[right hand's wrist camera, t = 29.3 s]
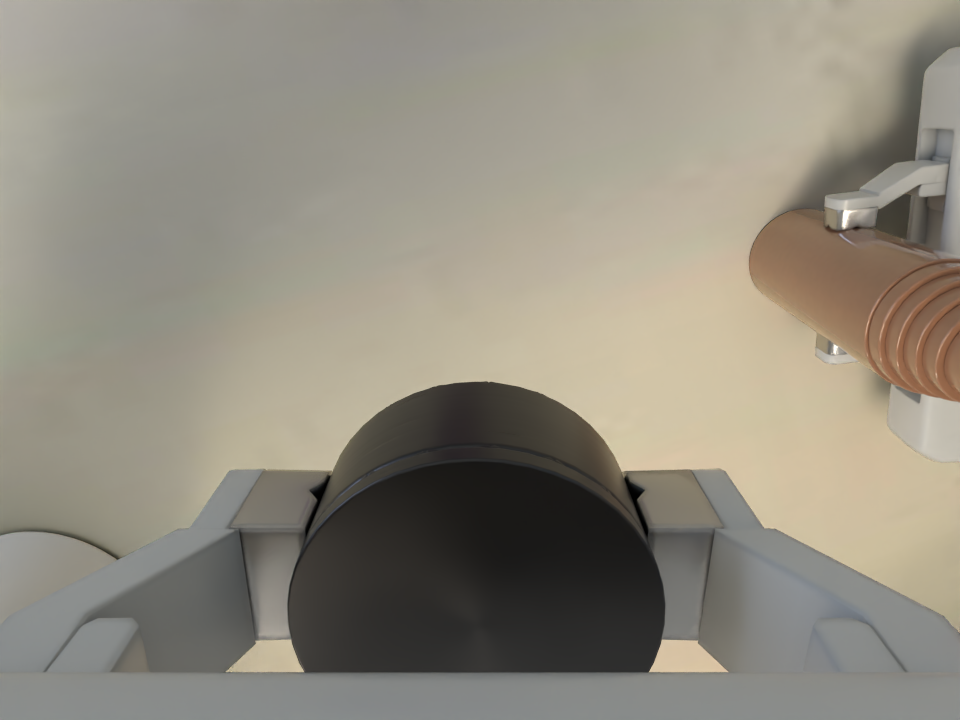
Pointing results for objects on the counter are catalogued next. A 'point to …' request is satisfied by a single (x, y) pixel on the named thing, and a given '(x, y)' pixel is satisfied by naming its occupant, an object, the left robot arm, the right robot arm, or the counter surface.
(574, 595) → the cap
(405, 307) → the counter surface
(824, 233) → the bottle
